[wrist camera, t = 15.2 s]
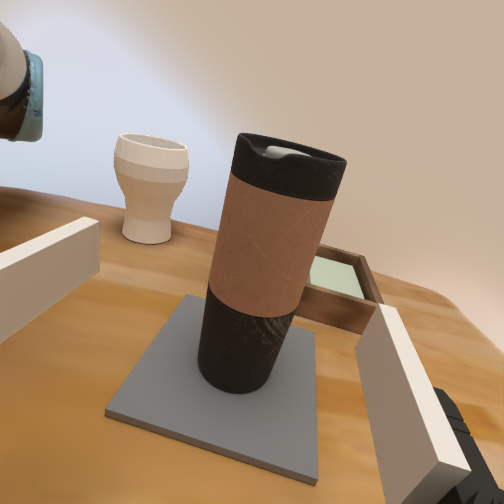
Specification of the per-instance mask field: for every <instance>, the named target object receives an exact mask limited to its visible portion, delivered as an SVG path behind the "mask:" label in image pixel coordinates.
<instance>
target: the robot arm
mask: <svg viewBox="0 0 504 504" xmlns="http://www.w3.org/2000/svg"><path fill="white" fill-rule="evenodd" d="M42 130H43V62H42V60H41V58H40V57H39V56H37V55H35V54H32V53H30V52H29V51H27V50H22V48H21V46H20V44H19V42H18V41H17V39H16V38H15V36H14V35H13V34H12V33H11V32H10V31H9V29H7V28H6V27H5V26H4V25H3V24H2V23H1V22H0V139H7V140H9V141H12V142H14V141H27V142H35V141H38V140H39V139H40V138H41V137H42ZM99 246H100V221H97V220H94V219H90V218H87V217H82V218H80V219H78V220H75V221H73V222H71V223H69V224H66V225H64V226H62V227H59V228H57V229H55V230H53V231H50V232H48V233H46V234H43V235H41V236H39V237H37V238H34V239H32V240H30V241H27V242H25V243H23V244H21V245H18V246H16V247H14V248H11V249H9V250H7V251H4V252H2V253H0V344H1V343H2V342H3V341H5V340H6V339H8V338H9V337H10V336H12V335H13V334H14V333H16V332H17V331H19V330H20V329H21V328H23V327H24V326H25V325H27V324H28V323H29V322H31V321H32V320H34V319H35V318H36V317H38V316H39V315H40V314H42V313H43V312H45V311H46V310H47V309H49V308H50V307H51V306H53V305H54V304H55V303H57V302H58V301H60V300H61V299H62V298H64V297H65V296H66V295H68V294H69V293H71V292H72V291H73V290H75V289H76V288H77V287H79V286H80V285H81V284H83V283H84V282H86V281H87V280H88V279H90V278H91V277H92V276H94V275H95V274H97V273H98V272H99ZM355 353H356V358H357V363H358V368H359V373H360V378H361V383H362V388H363V393H364V398H365V403H366V408H367V412H368V417H369V422H370V427H371V432H372V437H373V442H374V447H375V452H376V457H377V462H378V467H379V472H380V477H381V481H382V486H383V491H384V496H385V501H386V504H504V491H503V490H501V489H499V487H498V486H497V484H496V482H495V480H494V478H493V476H492V474H491V472H490V470H489V468H488V466H487V464H486V462H485V460H484V459H483V457H482V455H481V453H480V451H479V449H478V447H477V445H476V443H475V441H474V439H473V437H472V436H470V431H469V430H468V428H467V426H466V424H465V423H464V422H463V421H464V420H463V418H462V416H461V414H460V412H459V410H458V408H457V406H456V405H455V403H454V402H453V401H452V400H451V399H450V398H449V396H448V395H447V394H446V393H445V392H444V391H443V390H442V389H438V388H435V387H432V385H431V383H430V381H429V379H428V377H427V374H426V372H425V370H424V368H423V366H422V364H421V361H420V359H419V357H418V355H417V353H416V351H415V349H414V346H413V344H412V342H411V340H410V338H409V336H408V333H407V331H406V329H405V327H404V325H403V323H402V321H401V318H400V316H399V314H398V312H397V310H396V308H394V307H390V306H387V305H383V304H380V303H378V305H377V307H376V309H375V311H374V313H373V315H372V317H371V318H370V320H369V322H368V324H367V326H366V328H365V330H364V332H363V334H362V336H361V338H360V340H359V341H358V343H357V345H356V347H355Z"/></svg>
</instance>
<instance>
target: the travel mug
mask: <svg viewBox="0 0 504 504" xmlns="http://www.w3.org/2000/svg"><path fill="white" fill-rule="evenodd" d="M346 164H347V161H346V160H345V159H343V158H341V157H339V156H337V155H334V154H331V153H328V152H325V151H322V150H318V149H315V148H312V147H308V146H305V145H301V144H297V143H293V142H289V141H285V140H281V139H277V138H272V137H267V136H262V135H257V134H249V133H240V134H239V135H238V137H237V141H236V146H235V151H234V156H233V161H232V166H231V171H230V176H229V181H228V186H227V191H226V196H225V201H224V206H223V211H222V216H221V221H220V226H219V231H218V236H217V241H216V246H215V251H214V256H213V261H212V266H211V271H210V276H209V282H208V289H207V295H206V302H205V308H204V315H203V322H202V328H201V335H200V342H199V349H198V358H197V359H198V366H199V370H200V372H201V374H202V375H203V377H204V378H205V379H206V380H207V381H208V382H209V383H210V384H211V385H212V386H214V387H216V388H217V389H219V390H221V391H224V392H227V393H232V394H245V393H250V392H253V391H255V390H257V389H259V388H260V387H262V386H263V385H264V384H265V382H266V381H267V380H268V378H269V376H270V374H271V371H272V369H273V367H274V364H275V362H276V359H277V357H278V354H279V352H280V349H281V347H282V344H283V342H284V339H285V337H286V334H287V332H288V329H289V327H290V324H291V322H292V319H293V317H294V314H295V312H296V309H297V307H298V304H299V301H300V298H301V295H302V293H303V290H304V287H305V284H306V281H307V278H308V275H309V272H310V269H311V266H312V264H313V261H314V258H315V255H316V252H317V249H318V246H319V243H320V240H321V237H322V235H323V232H324V229H325V226H326V223H327V220H328V217H329V214H330V211H331V208H332V205H333V203H334V200H335V196H336V194H337V191H338V188H339V185H340V182H341V180H342V177H343V174H344V171H345V167H346Z"/></svg>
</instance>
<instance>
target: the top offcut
mask: <svg viewBox="0 0 504 504" xmlns="http://www.w3.org/2000/svg"><path fill="white" fill-rule="evenodd" d="M307 283H310V284H313V285H317V286H320V287H324V288H327V289H330V290H334V291H337V292H341V293H344V294H348V295H351V296H355V297H358V298H361V299H364V296H363V293H362V291H361V288H360V285H359V282H358V280H357V277H356V274H355V271H354V269H353V266H351V265H347V264H343V263H340V262H336V261H332V260H329V259H325V258H321V257H318V256H315V258H314V261H313V264H312V266H311V269H310V272H309V275H308V278H307Z"/></svg>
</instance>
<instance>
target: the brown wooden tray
mask: <svg viewBox="0 0 504 504" xmlns="http://www.w3.org/2000/svg"><path fill="white" fill-rule="evenodd" d="M315 256H318V257H321V258H325V259H329V260H332V261H336V262H340V263H343V264H347V265H351V266H353V269H354V271H355V274H356V277H357V280H358V282H359V285H360V288H361V291H362V293H363V296H364V299H361V298H358V297H355V296H351V295H348V294H344V293H341V292H337V291H334V290H330V289H327V288H324V287H320V286H317V285H313V284H310V283H306V284H305V287H304V290H303V293H302V295H301V298H300V301H299V304H298V307H297V309H296V312H295V315H298V316H302V317H305V318H308V319H312V320H315V321H318V322H322V323H325V324H328V325H332V326H335V327H338V328H342V329H345V330H349V331H352V332H355V333H359V334H363V332H364V330H365V328H366V326H367V324H368V322H369V320H370V318H371V317H372V315H373V313H374V311H375V309H376V307H377V305H378V303H380V304H383V305H384V302H383V300H382V297H381V295H380V293H379V290H378V288H377V285H376V283H375V281H374V278H373V276H372V273H371V271H370V269H369V266H368V264H367V262H366V259H365V257H364V256H362V255H358V254H355V253H351V252H348V251H344V250H340V249H337V248H333V247H330V246H326V245H323V244H319V246H318V249H317V252H316V255H315Z"/></svg>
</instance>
